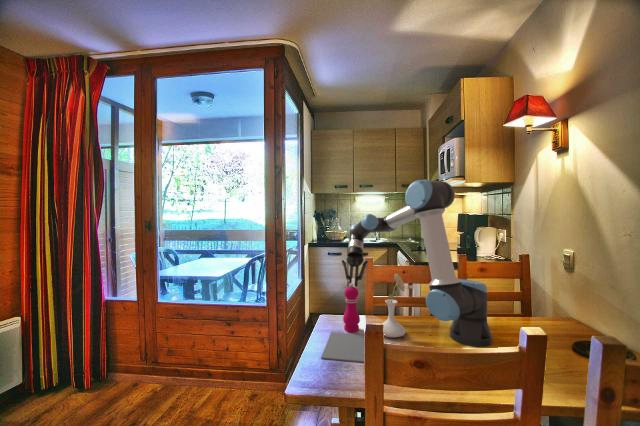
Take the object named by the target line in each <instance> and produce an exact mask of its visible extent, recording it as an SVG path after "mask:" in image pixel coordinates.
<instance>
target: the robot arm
mask: <svg viewBox="0 0 640 426" xmlns="http://www.w3.org/2000/svg"><path fill="white" fill-rule="evenodd" d="M455 194H456V192H455V189H454V188H453V186H452V184H450V183H448V182H446V181H443V180H430V179H429V180H428V179H418V180H415V181H413V182H411V183H410V184H409V186H408V187H407V189H406V191H405V197H404V198H405V203H406V205H405V206H403V207H401V208H399V209H397V210H396V211H393V212H392V213H390V214H388V215H386V216H384V217H377V216H376V215H374V214H372V213H368V214H366V215H365V216H363V217H362V219H361V220H360V221H359V222H358V223H355V224H352V225H351V226H350V229H349V234H348V235H349V238H348V249H347V256H346V258H345V259H344V260H341V265H342V266H343V269H344V275H345V278H346V279H345V280H349V281H348V285H349V284H350V283H352V284H353V287H355V288H357V287H358V284H359V283H358V281H362V279H363V276H364V274H365V270H366V268H367V266H368V265H369V263H368V260H365V259H364V239H365V238H366V237H367V236H369V234H371V233H390V232H393V231H395V230H396V229H397V228H398V227H400V226H402V225H405V224H406V223H407V224H408V223H409V222H412V221H414V220H416V219H418V220H419V223H420V227H421V232H422V238H423V242H424V248H425V252H426V256H427V262H428V266H429V270H430V276H431V281H430V282H429V283H428V287H429V291H428V292H427V294H426V296H425V304H426V307H427V310H428V311H429V313H430V314H431V315H432V316H433V317H434V318H435V319H437V320H438V321H441V322H451V326H450V328H449V336H450V338H451V339H452V340H454V341H455V342H457V343H460V344H463V345H465V346H471V347H488V346H490V345H492V344H493V334H492V332H491V329H490V326H489V323H488V294H489V293H488V286H487V285H486V284H485V283H484V282H480V281H476V280H470V279H466V278H465V279H464V278H462V279H461V278H458V277H457V276H456V271H455V267H454V264H453V263H454V262H453V258H452V254H451V249H450V245H449V240H448V235H447V231H446V226H445V221H444V217H443V214H444V213H445V211H446V209H447V208H448V207H450V206H451V205H453V202H455V198H456V195H455ZM347 265H349V267H350V269H349V273H348V267H347ZM361 265H362V266H361ZM360 266H361V270H360V272H359V267H360ZM354 268H355V272H354ZM353 275H354V276H353Z"/></svg>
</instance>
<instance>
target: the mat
mask: <svg viewBox="0 0 640 426" xmlns="http://www.w3.org/2000/svg"><path fill="white" fill-rule="evenodd" d="M364 335H365V334H363V333H362V334H361V333H351V332H347V333H346V332H337V331H335V332H334V331H333V332H332V331H331V332H330V334H329V337H328V339H327V342H326V344H325V346H324V349H323V352H322V355H321V357H320V358H321V360H332V361H340V362H341V361H342V362H354V363H364ZM364 364H365V363H364Z"/></svg>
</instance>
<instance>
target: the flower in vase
mask: <svg viewBox="0 0 640 426" xmlns="http://www.w3.org/2000/svg"><path fill="white" fill-rule="evenodd" d="M393 277H394V281H395V285H394V287H393V290H392V294H391V293H390V294H389V295H388V296H387V297H388V298H390V299H385V300H384V301H385V303H386V305H387V309H388V317H387V319H386V320H385V321H384V322H382V323H381V324H383V325H384V334H385V336H384V337H387V338H401V337H403V336H405V334H406V333H407V332H406V329H405V328H404V326H403V325H401V324H400V323H399V322H398V321H397V320H396V317H395V309H396V308H395V307H396V305H397V304H398V300H396V299H393V298H394V297H399V292H398V291H397V290H395V289H396V287H398V289H399V291H402V292H405V291H406V286H405V282H404V281H403V278H402V277H401V276H400V275H399V273H395V274H394V276H393Z"/></svg>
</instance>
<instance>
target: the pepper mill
mask: <svg viewBox="0 0 640 426" xmlns="http://www.w3.org/2000/svg"><path fill="white" fill-rule="evenodd" d="M343 295H344V296H345V302H346V308H345V311H344V313H343V318H342V321H343V323H344V325H343V330H344V331H345V332H347V333H356V332H358V331H359V329H360V325H359V323H360V322H361V318H360V314H359V312H358V309H357V302H358V296H359V289H358V288H357V287H353V284H352V283H350V284H349V283H348V286H347V287H346V288H345V290H344V294H343Z"/></svg>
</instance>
